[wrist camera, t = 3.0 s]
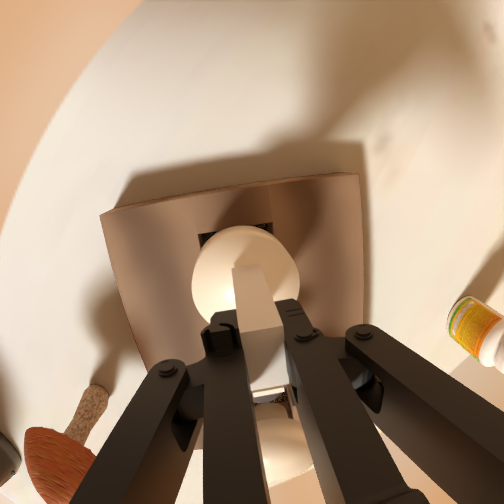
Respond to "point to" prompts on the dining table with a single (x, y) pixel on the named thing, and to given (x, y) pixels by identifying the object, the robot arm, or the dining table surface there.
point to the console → (219, 218)
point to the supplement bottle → (478, 331)
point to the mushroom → (64, 450)
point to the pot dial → (266, 394)
